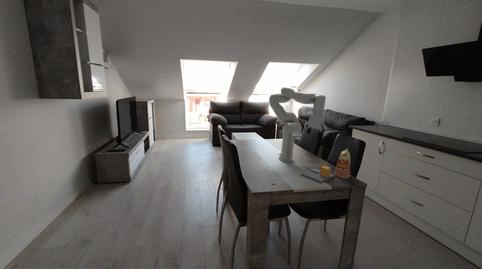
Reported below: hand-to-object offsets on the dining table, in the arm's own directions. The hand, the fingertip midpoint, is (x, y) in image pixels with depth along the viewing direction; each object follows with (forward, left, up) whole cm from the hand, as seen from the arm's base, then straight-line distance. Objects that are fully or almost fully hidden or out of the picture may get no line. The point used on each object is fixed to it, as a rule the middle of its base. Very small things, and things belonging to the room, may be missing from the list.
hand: (314, 135), depth 168 cm
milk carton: (+20, +10, -27) cm, 35 cm away
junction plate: (+10, -6, -27) cm, 29 cm away
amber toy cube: (+14, -3, -26) cm, 30 cm away
